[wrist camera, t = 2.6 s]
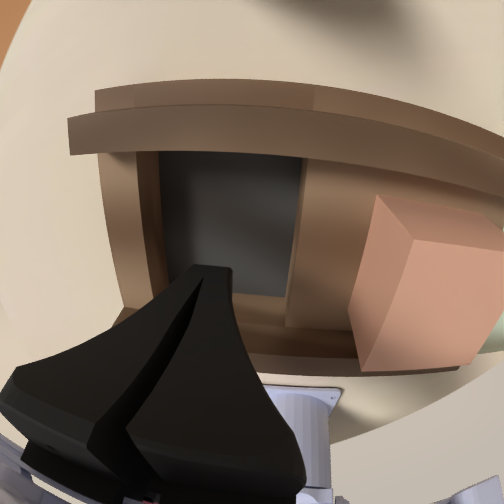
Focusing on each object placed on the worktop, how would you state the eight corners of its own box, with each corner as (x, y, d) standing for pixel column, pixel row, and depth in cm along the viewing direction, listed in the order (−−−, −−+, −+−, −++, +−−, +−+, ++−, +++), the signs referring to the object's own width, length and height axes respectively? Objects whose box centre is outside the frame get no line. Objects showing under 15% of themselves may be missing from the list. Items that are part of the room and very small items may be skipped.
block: (442, 312, 14) (469, 364, 10) (347, 309, 14) (361, 371, 11) (481, 214, 11) (529, 256, 7) (376, 194, 11) (413, 239, 8)
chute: (496, 325, 18) (520, 367, 14) (148, 306, 19) (121, 360, 15) (556, 168, 11) (602, 195, 7) (126, 88, 12) (66, 93, 8)
